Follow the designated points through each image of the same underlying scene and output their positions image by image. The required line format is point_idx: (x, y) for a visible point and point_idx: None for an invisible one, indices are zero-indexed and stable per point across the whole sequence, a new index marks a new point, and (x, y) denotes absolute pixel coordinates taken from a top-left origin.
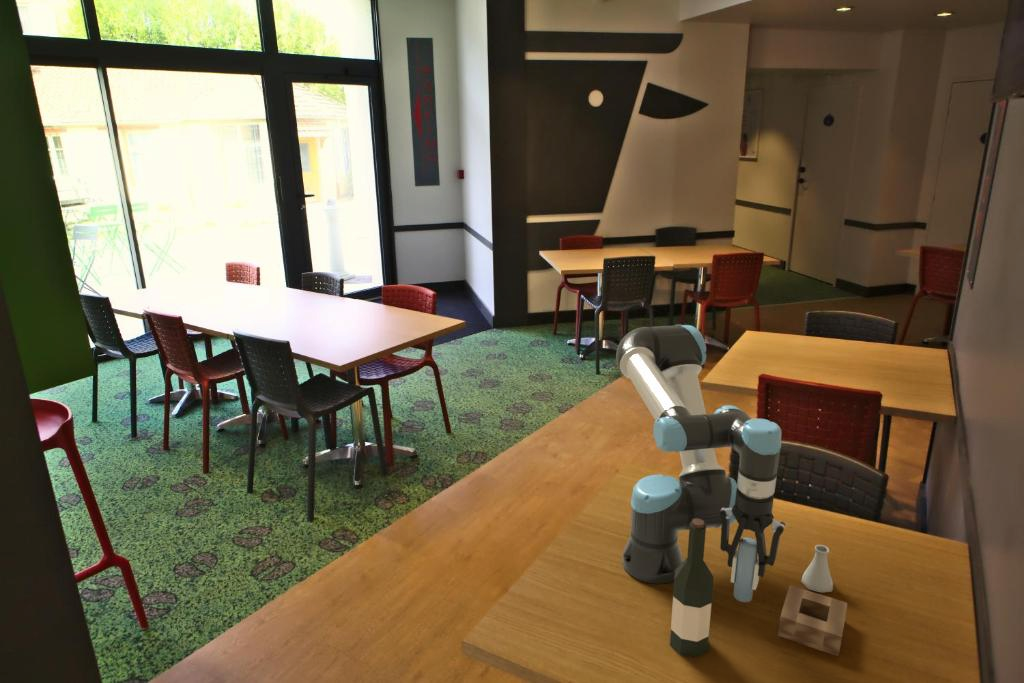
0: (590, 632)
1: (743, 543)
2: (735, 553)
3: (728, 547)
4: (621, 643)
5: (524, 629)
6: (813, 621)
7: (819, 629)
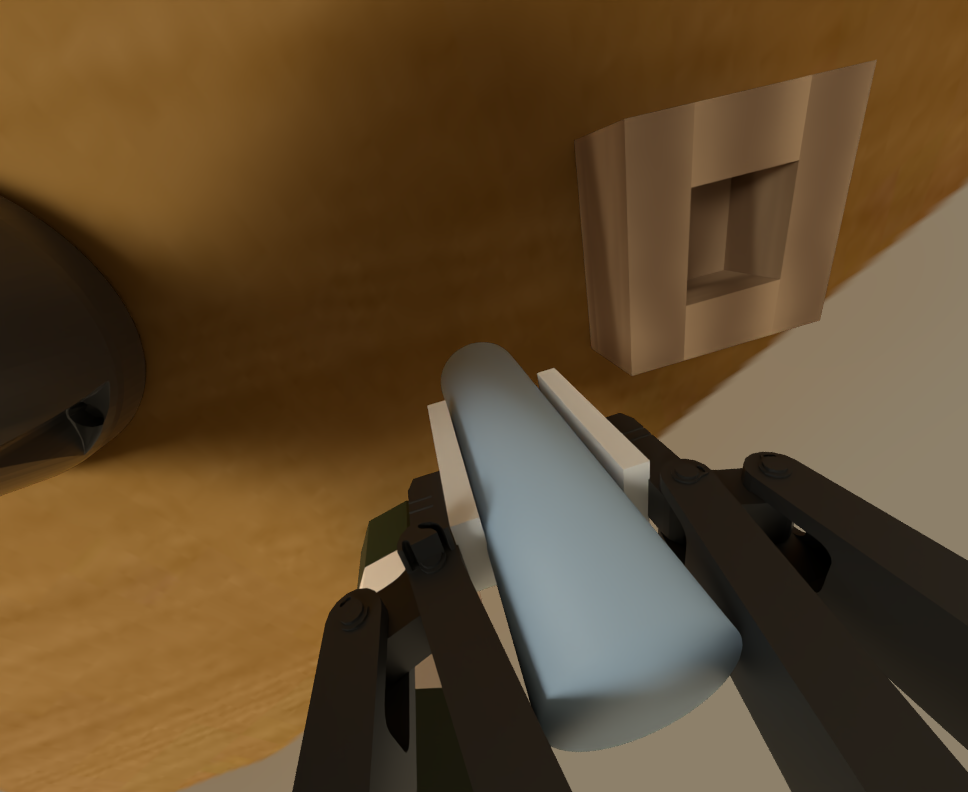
0: (216, 674)
1: (594, 729)
2: (463, 552)
3: (423, 654)
4: (298, 643)
5: (108, 761)
6: (737, 313)
7: (755, 338)
